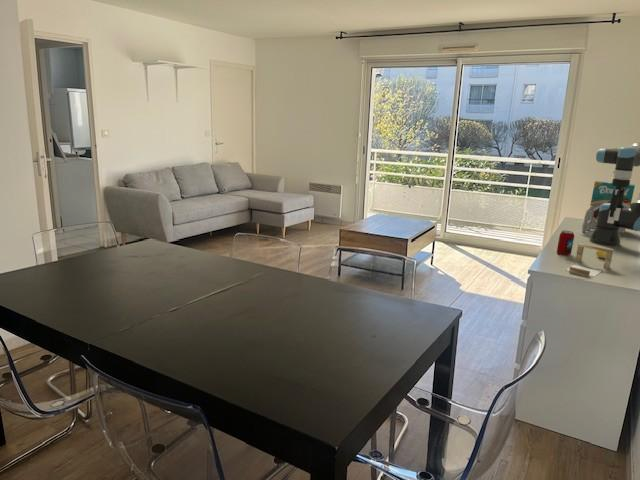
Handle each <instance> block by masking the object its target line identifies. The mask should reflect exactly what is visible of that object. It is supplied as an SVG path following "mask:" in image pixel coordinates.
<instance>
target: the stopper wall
mask: <svg viewBox="0 0 640 480" xmlns="http://www.w3.org/2000/svg"><path fill="white" fill-rule="evenodd" d="M569 268H570V270H569V271H568V273H570V274H574V275H578V276H583V277H586V278H589V277H590V276H589V274H590V271H588V270H584V269H579V268H575V267H571V266H569Z"/></svg>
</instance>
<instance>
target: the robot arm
mask: <svg viewBox="0 0 640 480" xmlns="http://www.w3.org/2000/svg"><path fill="white" fill-rule="evenodd" d="M595 159H596V162H597V163H600V164H601V163H602V164H610V165H611V164H612V165H615V167H614V171H612V174H613V179H612V181H611V182H612V186H616V190H614V191H613V196H612V200H611V203H603V204H601V206H600V209H599V214H598V219H597V224H596V228H594V229H593V230H594V232H593V233H592V235H591V237H590V236H589V237H590V238H589V241H590V242H592V243H593V244H597V245H601V246H610V247H611V246H612V247H618V246H620V244H621V235H620V232H619V228H620V227H621V228H625V230H630V231H635V232H640V193H639V194H638V196H637V197H636V200H635V201H634V202H631V205H630V207H624V206H625V204H623V197H624V191H625V188H624V187H629V184H631V178H632V174H633V170H634V167H640V142H636V143H633V144H632V145H629V146H628V145H627V146H621V147H615V148H600V149H598V150H597V152H596V155H595Z"/></svg>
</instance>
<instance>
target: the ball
mask: <svg viewBox="0 0 640 480" xmlns="http://www.w3.org/2000/svg"><path fill="white" fill-rule="evenodd" d="M606 253H607V252H605V251H600V250H595V254H596V256H597V257H598V258H599V259H605V257H606Z"/></svg>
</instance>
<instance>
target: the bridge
mask: <svg viewBox="0 0 640 480" xmlns="http://www.w3.org/2000/svg"><path fill="white" fill-rule="evenodd" d="M584 249H591V250H595V251H597V250H600V251H605V252H607V253H606V257H605V258H604V263H603V266H602V267H603V269H606V270H609V269H610V268H611V263H612V257H613V253H614V248H608V247H605V246H599V245H592V244H588V243H583V242H579V243H578V245H577V250H576V255H575V260H574V262H575V263H581V262H582V258H583V253H584Z"/></svg>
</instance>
